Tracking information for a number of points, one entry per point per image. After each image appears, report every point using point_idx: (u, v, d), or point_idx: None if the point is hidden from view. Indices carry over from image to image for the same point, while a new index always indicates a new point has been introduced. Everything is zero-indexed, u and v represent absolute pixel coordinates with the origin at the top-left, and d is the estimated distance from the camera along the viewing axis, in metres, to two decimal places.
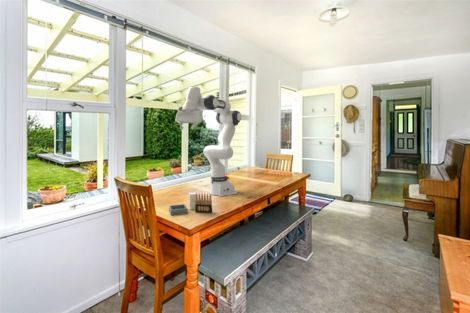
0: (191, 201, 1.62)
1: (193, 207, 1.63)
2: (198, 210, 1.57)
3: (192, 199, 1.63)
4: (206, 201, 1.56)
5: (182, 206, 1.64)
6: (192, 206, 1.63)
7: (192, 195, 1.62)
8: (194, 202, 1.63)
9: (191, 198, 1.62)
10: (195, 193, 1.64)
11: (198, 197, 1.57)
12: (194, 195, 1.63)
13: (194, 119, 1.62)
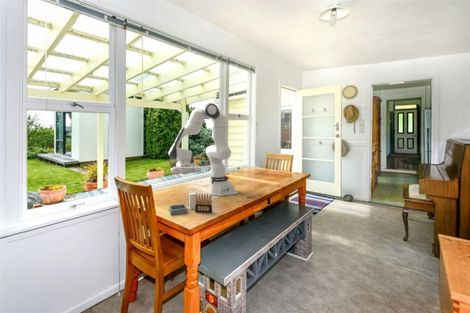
0: (191, 201, 1.62)
1: (193, 207, 1.63)
2: (198, 210, 1.57)
3: (192, 199, 1.63)
4: (206, 201, 1.56)
5: (182, 206, 1.64)
6: (192, 206, 1.63)
7: (192, 195, 1.62)
8: (194, 202, 1.63)
9: (191, 198, 1.62)
10: (195, 193, 1.64)
11: (198, 197, 1.57)
12: (194, 195, 1.63)
13: (178, 172, 1.76)
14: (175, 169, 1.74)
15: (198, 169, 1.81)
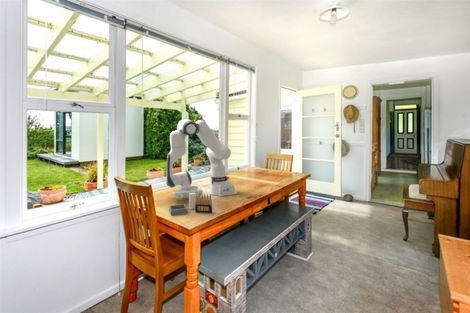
0: (191, 201, 1.62)
1: (193, 207, 1.63)
2: (198, 210, 1.57)
3: (192, 199, 1.63)
4: (206, 201, 1.56)
5: (182, 206, 1.64)
6: (192, 206, 1.63)
7: (192, 195, 1.62)
8: (194, 202, 1.63)
9: (191, 198, 1.62)
10: (195, 193, 1.64)
11: (198, 197, 1.57)
12: (194, 195, 1.63)
13: None
14: (176, 194, 1.74)
15: (199, 192, 1.80)
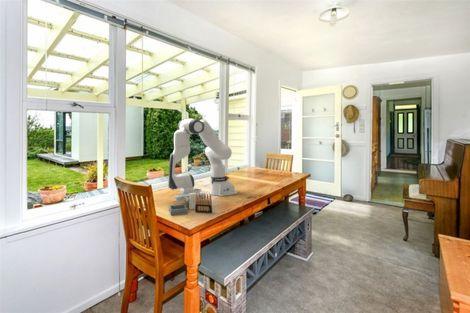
0: (191, 201, 1.62)
1: (193, 207, 1.63)
2: (198, 210, 1.57)
3: (192, 199, 1.63)
4: (206, 201, 1.56)
5: (182, 206, 1.64)
6: (192, 206, 1.63)
7: (192, 195, 1.62)
8: (194, 202, 1.63)
9: (191, 198, 1.62)
10: (195, 193, 1.64)
11: (198, 197, 1.57)
12: (194, 195, 1.63)
13: None
14: (178, 198, 1.65)
15: None
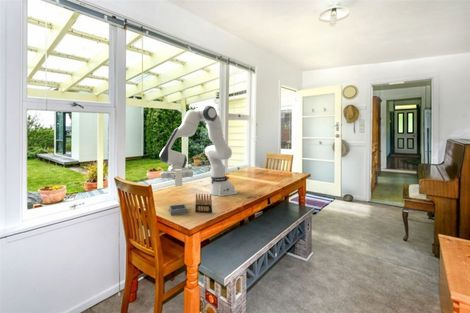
0: (176, 177, 1.54)
1: (179, 184, 1.55)
2: (198, 210, 1.57)
3: (178, 175, 1.55)
4: (206, 201, 1.56)
5: (182, 206, 1.64)
6: (178, 183, 1.55)
7: (178, 171, 1.54)
8: (180, 179, 1.55)
9: (177, 175, 1.54)
10: (181, 169, 1.56)
11: (198, 197, 1.57)
12: (180, 171, 1.55)
13: None
14: (163, 174, 1.57)
15: (189, 173, 1.63)
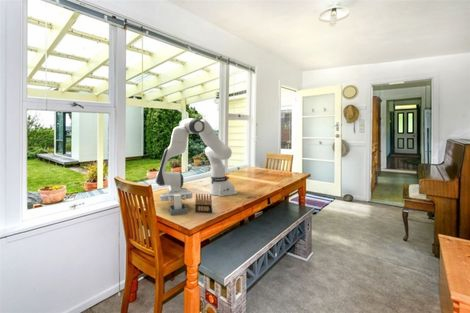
0: (175, 203, 1.56)
1: None
2: (198, 210, 1.57)
3: (177, 200, 1.56)
4: (206, 201, 1.56)
5: (182, 206, 1.64)
6: (177, 208, 1.56)
7: (177, 197, 1.55)
8: (179, 204, 1.56)
9: (176, 200, 1.55)
10: None
11: (198, 197, 1.57)
12: (179, 197, 1.56)
13: None
14: (163, 197, 1.58)
15: (189, 195, 1.64)
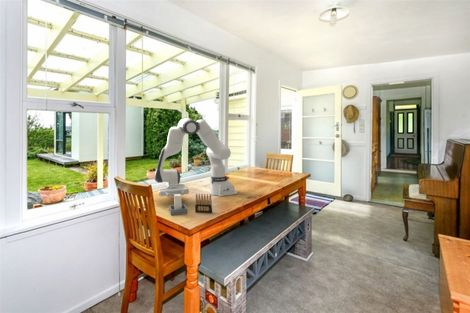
0: (176, 203, 1.56)
1: None
2: (198, 210, 1.57)
3: (177, 200, 1.56)
4: (206, 201, 1.56)
5: (182, 206, 1.64)
6: (177, 208, 1.56)
7: (177, 197, 1.56)
8: (179, 204, 1.56)
9: (176, 200, 1.56)
10: (180, 194, 1.57)
11: (198, 197, 1.57)
12: (179, 197, 1.56)
13: None
14: (161, 192, 1.70)
15: (185, 191, 1.76)
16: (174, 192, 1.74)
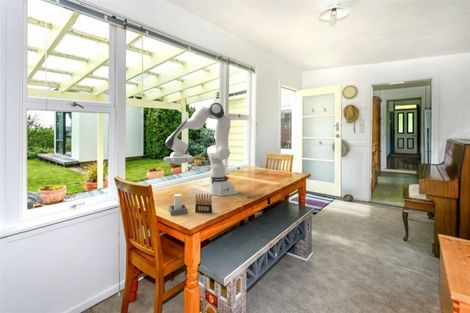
0: (176, 203, 1.56)
1: None
2: (198, 210, 1.57)
3: (177, 200, 1.56)
4: (206, 201, 1.56)
5: (182, 206, 1.64)
6: (177, 208, 1.56)
7: (177, 197, 1.56)
8: (179, 204, 1.56)
9: (176, 200, 1.56)
10: (180, 194, 1.57)
11: (198, 197, 1.57)
12: (179, 197, 1.56)
13: (169, 162, 1.79)
14: (166, 159, 1.77)
15: (190, 158, 1.82)
16: (179, 159, 1.80)
